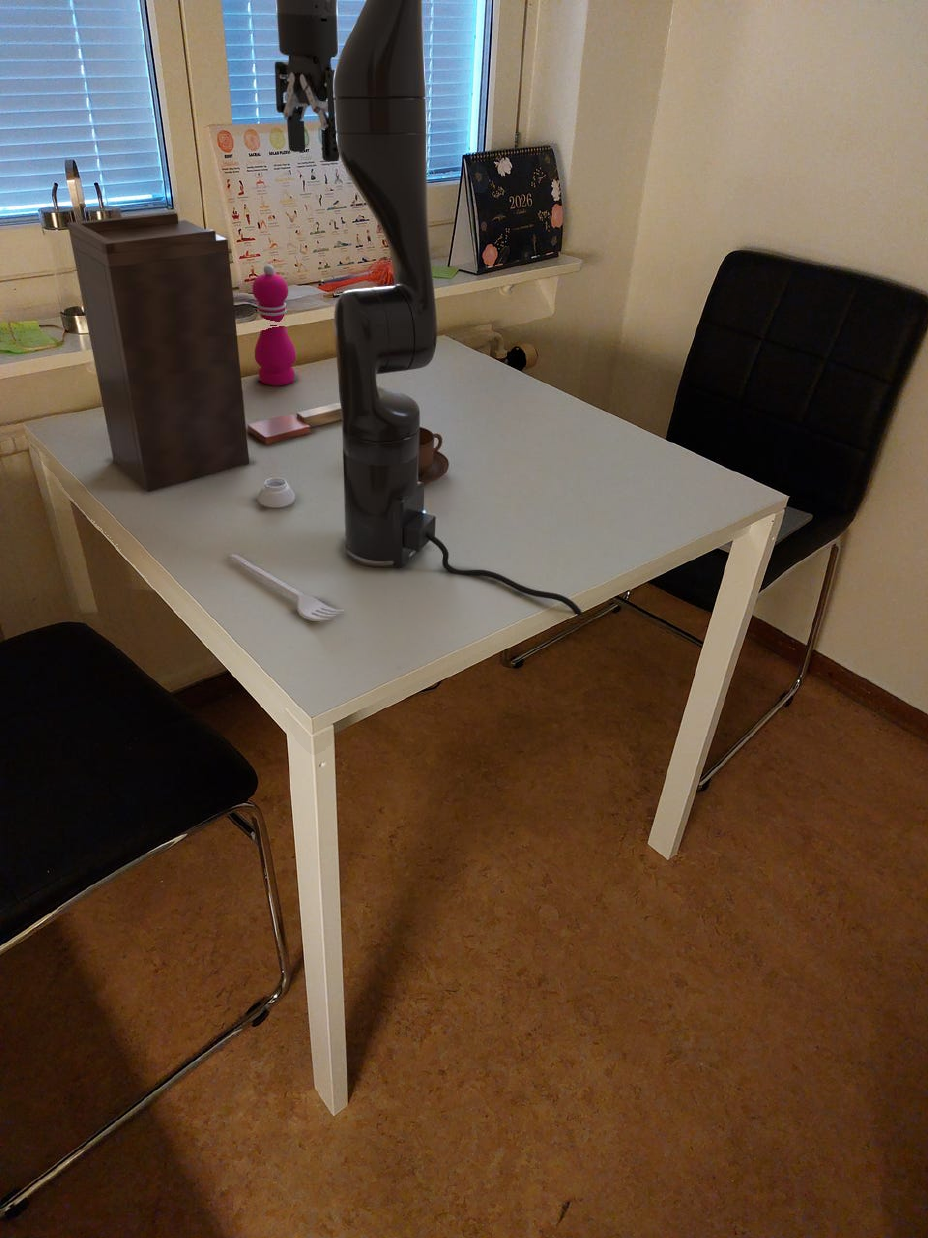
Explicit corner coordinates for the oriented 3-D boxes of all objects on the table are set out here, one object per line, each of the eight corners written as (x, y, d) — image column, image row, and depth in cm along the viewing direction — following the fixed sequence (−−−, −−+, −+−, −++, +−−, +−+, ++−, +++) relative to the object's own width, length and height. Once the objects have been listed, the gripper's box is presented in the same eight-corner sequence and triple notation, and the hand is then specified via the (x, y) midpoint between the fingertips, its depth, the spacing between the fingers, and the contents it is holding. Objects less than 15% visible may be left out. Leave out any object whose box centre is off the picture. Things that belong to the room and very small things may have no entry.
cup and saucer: (398, 449, 141) (398, 412, 138) (463, 470, 137) (465, 432, 133) (352, 477, 133) (351, 438, 129) (420, 500, 128) (421, 461, 125)
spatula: (361, 402, 156) (361, 391, 155) (381, 414, 152) (381, 403, 151) (247, 431, 144) (246, 419, 143) (266, 444, 140) (265, 432, 139)
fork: (242, 555, 114) (241, 542, 113) (349, 621, 104) (348, 608, 103) (221, 564, 112) (220, 551, 111) (327, 633, 102) (327, 620, 101)
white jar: (300, 496, 127) (269, 490, 128) (299, 478, 125) (267, 471, 127) (284, 512, 123) (252, 505, 124) (283, 493, 122) (250, 486, 123)
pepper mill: (301, 373, 165) (295, 260, 153) (291, 388, 159) (284, 271, 148) (263, 370, 165) (253, 257, 154) (251, 384, 160) (241, 268, 148)
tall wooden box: (211, 435, 142) (184, 210, 123) (249, 463, 135) (226, 229, 115) (113, 460, 133) (67, 222, 114) (148, 491, 126) (105, 243, 107)
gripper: (252, 7, 114) (262, 149, 123) (311, 12, 105) (318, 165, 114) (303, 9, 118) (309, 147, 127) (364, 14, 109) (367, 162, 118)
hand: (313, 155), depth 121 cm, fingers open, 8 cm apart
